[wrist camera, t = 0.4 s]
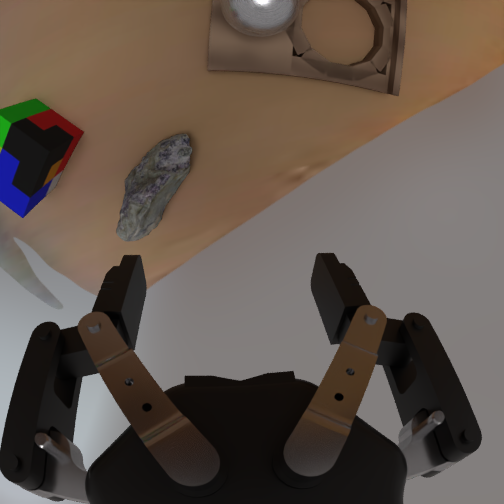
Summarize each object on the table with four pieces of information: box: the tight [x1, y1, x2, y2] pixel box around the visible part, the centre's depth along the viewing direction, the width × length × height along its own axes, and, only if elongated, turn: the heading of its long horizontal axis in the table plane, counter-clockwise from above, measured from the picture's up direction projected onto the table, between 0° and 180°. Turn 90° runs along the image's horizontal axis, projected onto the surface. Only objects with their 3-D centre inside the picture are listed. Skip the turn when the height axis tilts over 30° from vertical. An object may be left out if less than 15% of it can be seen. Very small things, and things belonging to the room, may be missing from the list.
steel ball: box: [221, 0, 299, 37], centre depth 23 cm, size 8×8×8 cm
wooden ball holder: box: [208, 0, 407, 96], centre depth 27 cm, size 16×24×4 cm, turn 86°
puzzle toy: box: [0, 99, 84, 218], centre depth 29 cm, size 10×10×10 cm
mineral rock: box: [116, 134, 192, 241], centre depth 35 cm, size 13×11×10 cm
